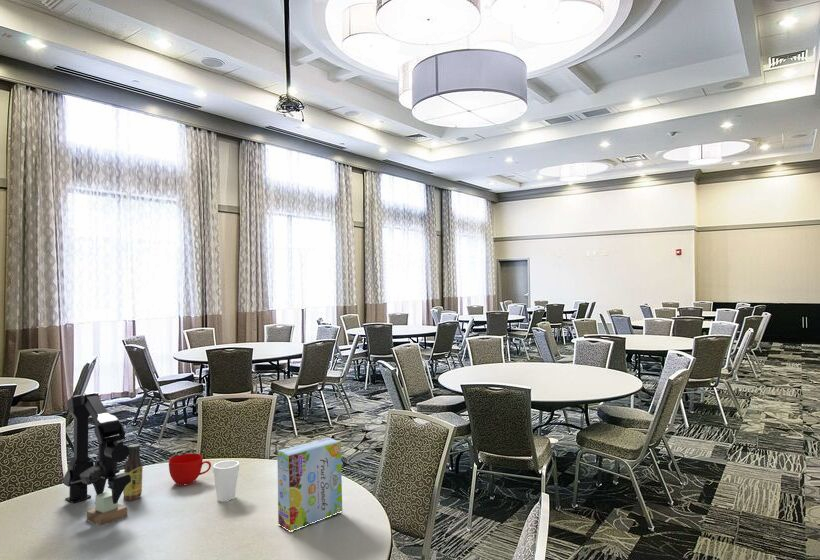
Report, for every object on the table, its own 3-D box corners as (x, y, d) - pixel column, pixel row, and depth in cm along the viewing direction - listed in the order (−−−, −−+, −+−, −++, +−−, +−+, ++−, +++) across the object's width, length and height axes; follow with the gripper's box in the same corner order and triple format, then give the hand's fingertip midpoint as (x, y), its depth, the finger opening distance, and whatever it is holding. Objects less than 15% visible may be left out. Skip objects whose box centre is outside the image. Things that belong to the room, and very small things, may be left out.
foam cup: (207, 501, 193) (207, 466, 194) (224, 492, 202) (225, 459, 202) (227, 505, 190) (227, 469, 190) (244, 495, 198) (244, 462, 199)
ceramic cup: (204, 488, 206) (204, 463, 206) (162, 488, 206) (162, 463, 206) (216, 477, 219) (216, 453, 219) (177, 476, 219) (177, 453, 219)
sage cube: (95, 509, 179) (95, 495, 179) (109, 504, 183) (110, 490, 183) (103, 512, 176) (103, 498, 176) (117, 507, 180) (118, 493, 181)
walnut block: (86, 521, 178) (86, 510, 178) (112, 511, 185) (112, 501, 186) (101, 527, 173) (101, 516, 173) (127, 516, 181) (127, 506, 181)
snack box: (328, 506, 189) (329, 436, 189) (343, 513, 182) (343, 441, 183) (276, 525, 173) (276, 449, 174) (289, 534, 167) (290, 454, 168)
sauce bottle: (133, 501, 193) (134, 448, 193) (119, 500, 194) (120, 447, 195) (145, 494, 199) (146, 443, 200) (132, 493, 201) (132, 442, 201)
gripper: (68, 458, 177) (68, 503, 177) (99, 467, 168) (99, 515, 168) (101, 449, 187) (100, 492, 187) (132, 457, 178) (131, 503, 178)
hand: (107, 500), depth 180 cm, fingers open, 9 cm apart
